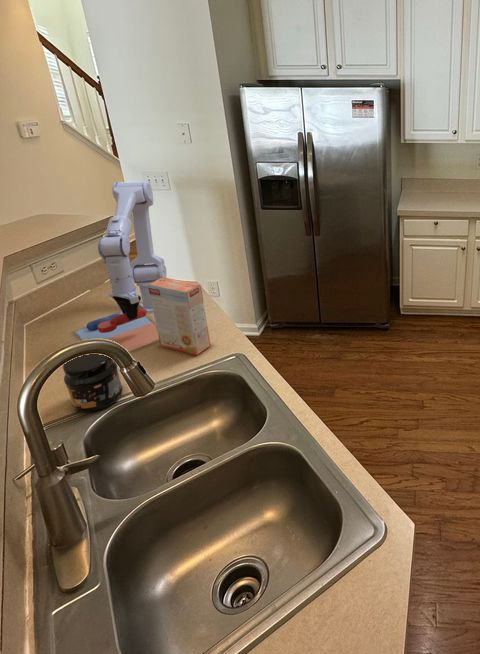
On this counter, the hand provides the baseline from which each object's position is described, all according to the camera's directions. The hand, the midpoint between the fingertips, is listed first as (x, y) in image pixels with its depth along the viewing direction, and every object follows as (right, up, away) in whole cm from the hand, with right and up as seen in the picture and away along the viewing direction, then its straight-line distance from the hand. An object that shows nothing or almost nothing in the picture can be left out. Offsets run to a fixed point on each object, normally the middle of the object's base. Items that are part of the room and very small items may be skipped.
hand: (130, 316), depth 130 cm
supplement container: (+7, -17, -23) cm, 29 cm away
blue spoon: (-13, -4, +10) cm, 16 cm away
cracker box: (+17, -9, 0) cm, 19 cm away
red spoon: (-1, -2, -1) cm, 2 cm away
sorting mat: (-6, -6, +5) cm, 10 cm away
